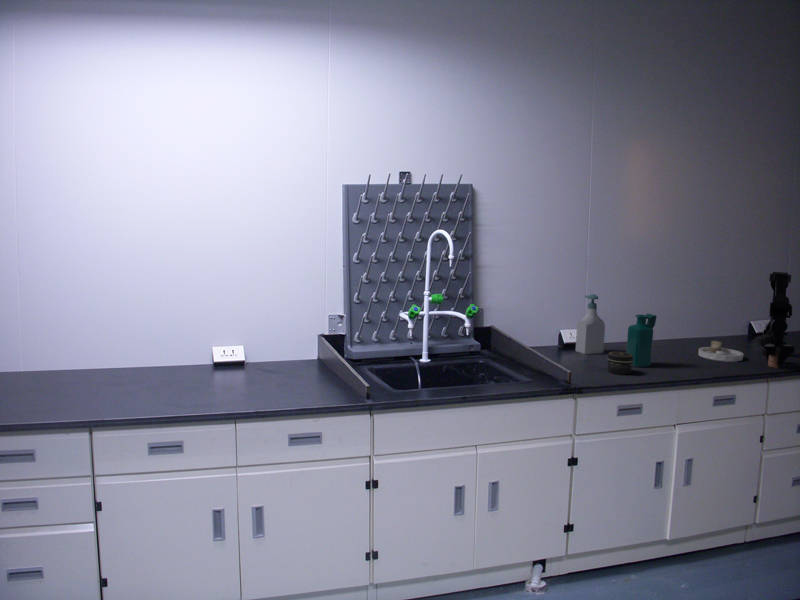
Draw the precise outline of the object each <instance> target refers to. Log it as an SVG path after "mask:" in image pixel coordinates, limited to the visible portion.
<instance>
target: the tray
mask: <svg viewBox="0 0 800 600" xmlns="http://www.w3.org/2000/svg"><path fill="white" fill-rule="evenodd" d="M710 350H711V346H705V347H699V348H698V354H697V355H698V357H701V358H704V359H706V360H712V361H717V362H727V363H729V362H730V363H734V362H735V363H737V362H742V361H744V360H743V359H744V357H745V356H744V353H743V352H741V351H739V350H736V349H731V348H725V347H721V351H716V353H713V352H710Z"/></svg>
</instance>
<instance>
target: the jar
mask: <svg viewBox="0 0 800 600" xmlns="http://www.w3.org/2000/svg"><path fill="white" fill-rule="evenodd" d="M606 362H607V363H606V369H607V371H608V373H610V374H613V375H618V376H619V375H622V376H624V375H631V373H632V371H633V366H632V365H633V355H632V354H629V353H626V351H625V352H624V351H610V352H608V353H607V361H606Z"/></svg>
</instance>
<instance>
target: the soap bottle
mask: <svg viewBox="0 0 800 600" xmlns="http://www.w3.org/2000/svg"><path fill="white" fill-rule="evenodd" d="M584 298H587V299H589V300H591V301H590V302H589V303H588V304H587V310H586V314H585V316H584V317H582V319H580V320H578V322H577V326H576V339H575V352H576V353H580V354H582V355H595V354H603V353H604V348H605V347H604V346H605V335H606V334H605V332H606V324H605V322H604V320H603V319H601V317H600V316H599V315H598V312H597V309H598V307H597V306H598V305H597V303H595V300H599V296H598V295H597V294H593V293H591V294H589V295H584Z"/></svg>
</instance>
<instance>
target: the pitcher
mask: <svg viewBox="0 0 800 600" xmlns="http://www.w3.org/2000/svg"><path fill="white" fill-rule="evenodd" d="M634 317H635V318H636V323H635V324H632V325H629V326H628V328H627V340H626V351H625V353H629V354H632V355H633V365H632V367H634V368H646V367H648V368H649V367H650V366H651V365H652V355H653V343H654V327H655V326H656V322H657V315H655V314H652V313H646V314H636V315H634Z"/></svg>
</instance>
